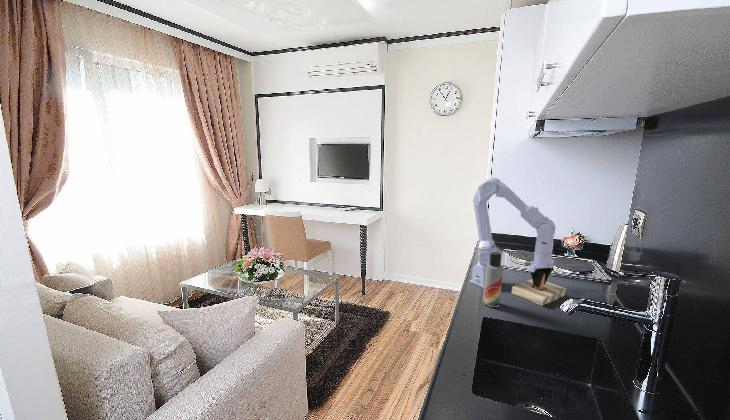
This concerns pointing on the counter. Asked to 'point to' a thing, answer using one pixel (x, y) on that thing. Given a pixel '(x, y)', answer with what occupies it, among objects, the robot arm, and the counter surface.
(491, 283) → the lotion bottle
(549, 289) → the socket block
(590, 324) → the counter surface
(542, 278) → the peg
